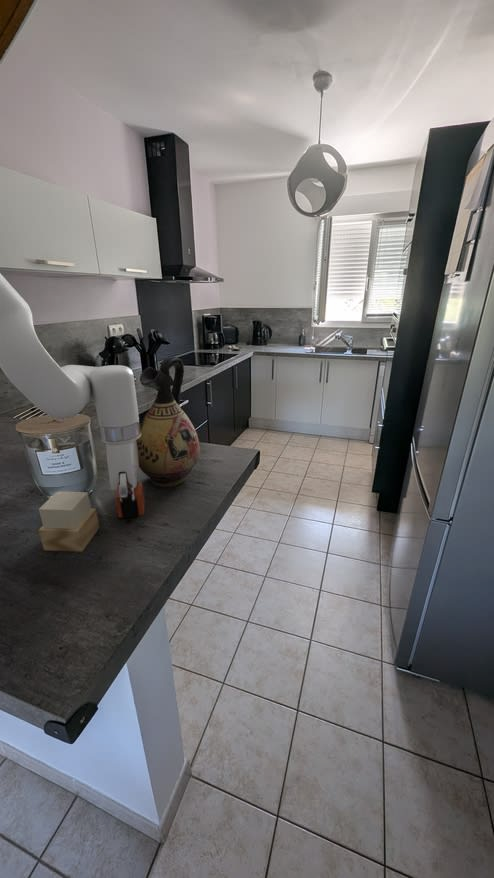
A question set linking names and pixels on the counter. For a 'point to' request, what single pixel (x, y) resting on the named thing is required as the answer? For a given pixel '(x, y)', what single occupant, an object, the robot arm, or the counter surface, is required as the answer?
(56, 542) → the base block
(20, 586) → the counter surface
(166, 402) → the ceramic jug
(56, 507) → the middle block
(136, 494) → the toy cube
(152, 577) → the counter surface
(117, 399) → the robot arm
